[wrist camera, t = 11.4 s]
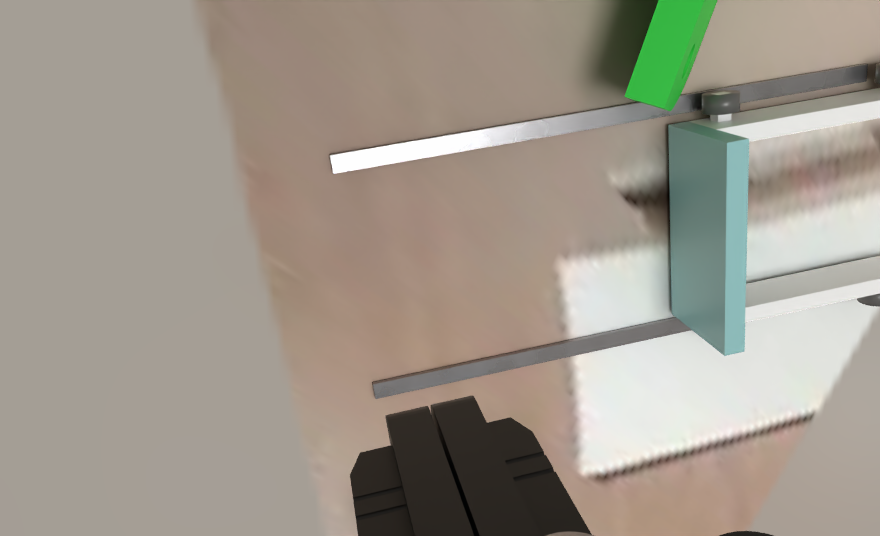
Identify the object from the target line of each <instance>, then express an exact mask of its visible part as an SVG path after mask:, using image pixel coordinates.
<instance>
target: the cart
mask: <svg viewBox="0 0 880 536" xmlns="http://www.w3.org/2000/svg"><path fill="white" fill-rule="evenodd" d="M875 83H878V84H880V63H878V64H876V71H875ZM739 111H740V91H737V90H718V91H711V92H706V93H703V94H702V113H703V114H706V115H710V118H705V119H699V120H693V121H688V122H682V123H676V124H670V125H668V129H669V184H670V240H671V296H672V314H673V315H674V316H675V317H676V318H678V319H679V320H680V321H681V322H683V323H684V324H685V325H686V326H688V327H689V328H690V329H691V330H693V331H694V332H695V333H697V334H698V335H699V336H700V337H702V338H703V339H704V340H705V341H707V342H708V343H709V344H710V345H712V346H713V347H714V348H715V349H717V350H718V351H719V352H720V353H722V354H723V355H724V356H726V355H731V354H735V353H739V352H744V347H745V323H747V322H751V321H756V320H761V319H765V318H770V317H774V316H779V315H783V314H788V313H792V312H797V311H802V310H806V309H811V308H815V307H820V306H824V305H829V304H834V303H838V302H843V301H847V300H852V299H856V298H857V300H858V301H859V302H860V303H862V304H865V305H870V306H880V256H875V257H871V258H866V259H861V260H856V261H852V262H847V263H842V264H837V265H833V266H828V267H823V268H819V269H814V270H809V271H804V272H800V273H795V274H790V275H785V276H781V277H776V278H771V279H766V280H762V281H757V282H752V283H747V284H746V257H747V211H748V166H749V142H751V141H756V140H762V139H767V138H773V137H778V136H784V135H790V134H795V133H801V132H806V131H812V130H817V129H823V128H828V127H834V126H839V125H845V124H850V123H856V122H861V121H867V120H872V119H878V118H880V88H876V89H870V90H864V91H859V92H853V93H847V94H842V95H836V96H830V97H824V98H819V99H813V100H807V101H802V102H796V103H790V104H785V105H779V106H773V107H767V108H762V109H756V110H750V111H745V112H739ZM736 112H739V113H736ZM732 113H733V114H732Z"/></svg>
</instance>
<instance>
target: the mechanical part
mask: <svg viewBox="0 0 880 536" xmlns="http://www.w3.org/2000/svg"><path fill="white" fill-rule="evenodd" d="M716 3H717V0H659V1H658V3H657V6H656V9H655V12H654V15H653V17H652V20H651V23H650V26H649V29H648V32H647V34H646V37H645V40H644V43H643V46H642V48H641V51H640V54H639V57H638V60H637V63H636V65H635V68H634V71H633V74H632V77H631V79H630V82H629V85H628V88H627V91H626V93H625V96H624V97H627V98H629V99H631V100H634V101H637V102H641V103H644V104H647V105H651V106H654V107H657V108H661V109H664V110H667V111H671V110H672V109H673V108H674V106H675V104H676V103H677V101H678V99H679V97H680V95H681V92H682V90H683V88H684V86H685V83H686V81H687V79H688V76H689V74H690V71H691V69H692V66H693V64H694V61H695V58H696V56H697V53H698V50H699V48H700V45H701V42H702V40H703V37H704V34H705V32H706V29H707V26H708V24H709V21H710V18H711V16H712V13H713V10H714V8H715V5H716Z"/></svg>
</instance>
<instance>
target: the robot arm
mask: <svg viewBox="0 0 880 536" xmlns="http://www.w3.org/2000/svg"><path fill="white" fill-rule="evenodd" d="M386 422H387V428H388V433H389V438H390V443H391V446H387V447H383V448H378V449H374V450H370V451H366V452H361V453H360V454H359V456H358V459H357V461H356V463H355V465H354V467H353V470H352V472H351V474H350V478H351V486H352V493H353V499H354V508H355V515H356V522H357V530H358V536H594V535H592V534H591V533H590V531H589V529H588V527H587V526H586V524H585V522H584V520H583V519H582V517H581V515H580V514H579V512H578V510H577V508H576V507H575V505H574V503H573V501H572V500H571V498H570V496H569V494H568V493H567V491H566V489H565V488H564V486H563V484H562V482H561V481H560V479H559V477H558V475H557V474H556V472H554V470H553V467H552V465H551V463H550V462H549V460H548V458H547V456H546V455H544V451H543V449H542V448H541V446H540V444H539V442H538V441H537V439H536V437H535V436H534V434H533V432H532V431H531V430H529V429H527V428H526V427H524V426H523V425H521V424H520V423H518V422H517V421H515V420H514V419H512V418H506V419H502V420H497V421H493V422H489V423H487V422H486V420H485V418H484V416H483V414H482V412H481V410H480V408H479V406H478V404H477V402H476V400H475V398H474V396H468V397H464V398H459V399H455V400H450V401H446V402H442V403H437V404H433V405H431V413H430V410H429V407H428V406H425V407H420V408H416V409H412V410H407V411H403V412H398V413H394V414H390V415H386ZM720 536H773V535H769V534H765V533H760V532H752V531H737V532H731V533H726V534H723V535H720Z"/></svg>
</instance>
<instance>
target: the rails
mask: <svg viewBox="0 0 880 536" xmlns="http://www.w3.org/2000/svg"><path fill="white" fill-rule="evenodd" d="M867 68H868V64H860V65H854V66H848V67H842V68H836V69H830V70H825V71H819V72H813V73H807V74H801V75H795V76H789V77H783V78H777V79H772V80H766V81H760V82H754V83H748V84H742V85H736V86H730V87H724V88H718V89H713V90H707V91H701V92H695V93H689V94H683V95H680V97H679V99H678V101H677V103H676V104H675V106H674V108H673V109H672V110H671V111H667V110H664V109H661V108H657V107H654V106H651V105H647V104H644V103H641V102H636V103H630V104H624V105H618V106H612V107H606V108H601V109H595V110H589V111H583V112H577V113H571V114H565V115H559V116H553V117H548V118H542V119H536V120H530V121H524V122H518V123H512V124H506V125H500V126H494V127H489V128H483V129H477V130H471V131H465V132H459V133H453V134H447V135H441V136H436V137H430V138H424V139H418V140H412V141H406V142H400V143H394V144H388V145H382V146H377V147H371V148H365V149H359V150H353V151H347V152H341V153H335V154H330V159H331V164H332V170H333V174H335V173H341V172H347V171H353V170H358V169H364V168H370V167H376V166H381V165H387V164H393V163H399V162H404V161H410V160H416V159H422V158H428V157H433V156H439V155H445V154H451V153H456V152H462V151H468V150H474V149H479V148H485V147H491V146H497V145H502V144H508V143H514V142H520V141H526V140H531V139H537V138H543V137H549V136H554V135H560V134H566V133H572V132H577V131H583V130H589V129H595V128H600V127H606V126H612V125H618V124H624V123H629V122H635V121H641V120H647V119H652V118H658V117H664V116H670V115H675V114H681V113H687V112H693V111H698V110H702V94H703V93H706V92H711V91H718V90H737V91H740V103H745V102H750V101H756V100H762V99H768V98H773V97H779V96H785V95H791V94H796V93H802V92H808V91H814V90H820V89H825V88H831V87H837V86H843V85H848V84H854V83H860V82H866V81H867ZM689 330H691V329H690V328H689V327H688V326H686V325H685V324H684V323H683V322H681V321H680V320H679V319H678V318H676V317H674V318H669V319H664V320H660V321H655V322H650V323H646V324H641V325H636V326H632V327H627V328H623V329H618V330H613V331H609V332H604V333H599V334H595V335H590V336H585V337H581V338H576V339H571V340H567V341H562V342H557V343H553V344H548V345H543V346H539V347H534V348H529V349H525V350H520V351H515V352H511V353H506V354H501V355H497V356H492V357H487V358H483V359H478V360H474V361H469V362H464V363H460V364H455V365H450V366H446V367H441V368H436V369H432V370H427V371H422V372H418V373H413V374H408V375H404V376H399V377H394V378H390V379H385V380H380V381H376V382H372V383H373V388H374V393H375V398H376V399H378V398H382V397H387V396H392V395H396V394H401V393H405V392H410V391H414V390H419V389H424V388H428V387H433V386H437V385H442V384H447V383H451V382H456V381H460V380H465V379H469V378H474V377H479V376H483V375H488V374H492V373H497V372H502V371H506V370H511V369H515V368H520V367H524V366H529V365H534V364H538V363H543V362H547V361H552V360H557V359H561V358H566V357H570V356H575V355H579V354H584V353H589V352H593V351H598V350H602V349H607V348H612V347H616V346H621V345H625V344H630V343H634V342H639V341H644V340H648V339H653V338H657V337H662V336H667V335H671V334H676V333H680V332H685V331H689Z"/></svg>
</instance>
